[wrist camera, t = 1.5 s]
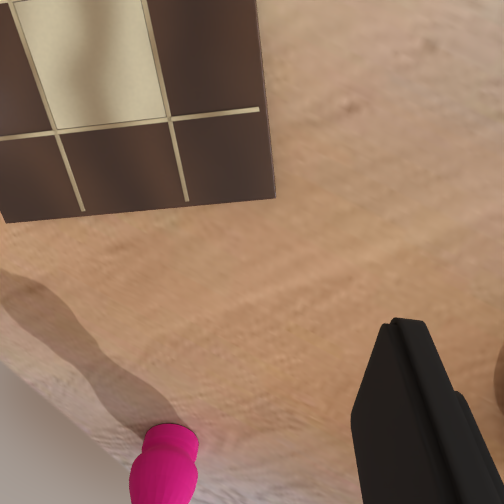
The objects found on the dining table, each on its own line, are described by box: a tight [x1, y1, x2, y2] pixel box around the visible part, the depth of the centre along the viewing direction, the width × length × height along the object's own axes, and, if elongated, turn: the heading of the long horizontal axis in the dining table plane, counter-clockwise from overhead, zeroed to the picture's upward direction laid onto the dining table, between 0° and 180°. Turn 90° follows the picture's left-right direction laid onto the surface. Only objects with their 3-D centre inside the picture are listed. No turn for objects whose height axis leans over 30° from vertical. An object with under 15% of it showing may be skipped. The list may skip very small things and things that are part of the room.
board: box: [0, 0, 276, 223], centre depth 31 cm, size 22×22×2 cm
